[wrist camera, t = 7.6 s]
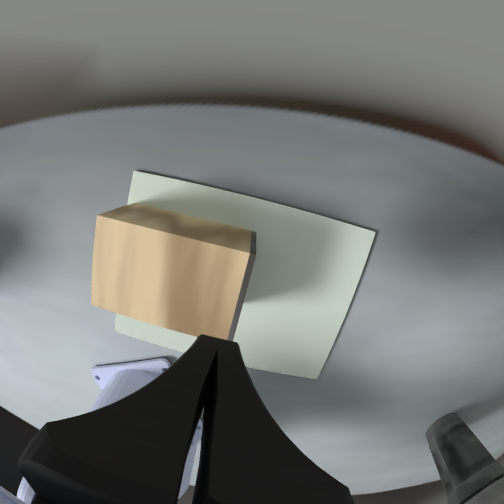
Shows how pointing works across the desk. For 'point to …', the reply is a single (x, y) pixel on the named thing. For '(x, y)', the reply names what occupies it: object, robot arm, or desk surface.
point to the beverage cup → (464, 464)
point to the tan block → (172, 269)
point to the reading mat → (269, 275)
